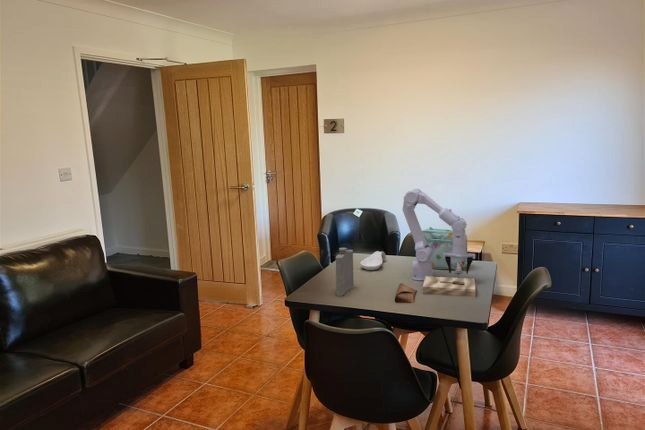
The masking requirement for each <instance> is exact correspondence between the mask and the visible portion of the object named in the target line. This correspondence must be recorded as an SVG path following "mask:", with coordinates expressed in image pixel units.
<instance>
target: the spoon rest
mask: <svg viewBox="0 0 645 430" xmlns="http://www.w3.org/2000/svg"><path fill="white" fill-rule="evenodd" d="M387 261H388V259H387V256H386V253H385V252H384V251H379V250H376V251H374V252H373V253H371V254H370V255H368V256H367V257H366V258H364V259H363V260H361V261H360V263H359V264H360V266H361V268H363V269H365V270H367V271H376V270H379V269H380V268H381V267H382V264H383V262H387Z"/></svg>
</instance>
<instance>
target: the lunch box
mask: <svg viewBox="0 0 645 430" xmlns="http://www.w3.org/2000/svg"><path fill="white" fill-rule="evenodd" d="M421 230H422V232H423V235H424V238H425V240H426V241H427V242H428V244H429V246H430V247H431V248H432V249H433V255H432V256H431V259H432V270H433V269H435V270H449V268H448V265H447V262H446V260H445V258H443V253H451V252H453V230H452V229H448V228H447V229H444V228H443V229H442V228H433V227H432V226H430V227H429V228H426V229H421ZM465 235H466V239H465V253H468V236H467V234H466V233H465ZM414 251H416V250H415V248H414ZM457 262H459V263H462V269H463V268H464V267H465V266H467V258H452V257H451V271H453V270H455V263H457Z"/></svg>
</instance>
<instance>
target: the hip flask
mask: <svg viewBox="0 0 645 430" xmlns="http://www.w3.org/2000/svg"><path fill="white" fill-rule="evenodd" d="M338 252H339V253H338V254H337V255H336V256H335V281H336V283H335V285H336V288H335V289H336V297H344V296H345V294H346V293H347V292H349V290H351V289H354V286H355V285H354V282H355V281H354V250H353V249H348V248H347V247H339V248H338ZM343 295H344V296H343Z"/></svg>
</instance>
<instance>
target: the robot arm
mask: <svg viewBox="0 0 645 430" xmlns="http://www.w3.org/2000/svg"><path fill="white" fill-rule="evenodd" d="M418 204H420V205H425V206H427V207H428V208H430V209H431V210H432V211H434V212H435V213H437V214H438V217H439V219H440V220H441V221H443V222H444V223H446V224H447V225H448V226H450V227H451V230H453V252H451V253H443V258H445V260H446V262H447V265H448V268H449V269H448V271H449V274H451V273H452V270H451V257H452V258H467V263H466V273H465V274H467V275H468V274H469V269H470V266H471V265H472V263H473V260H475V259H476V254H475V253H472V252H471V253H470V252H467V253H465V239H466V236H467V234H466V228H467V225H468V224H467V221H466V220H465V219H464V218H463V217H460V215H457V214H456V213H454V212H453V210H452V209H451V208H448V207H446V208H443V207H442V206H441V205H440V204H439V203H437V202H436V200H434V199H432V198H431V197H430V196H428V194H427V193H426V192H424V191H422V190H421V189H419V188H414V189H411V190H407V192H406V193H405V194H404V196H403V204H402V212H403V216H404V217H405V220H406V223H407V226H408V228H409V231H410V233H411V237H412V239H413V242H414V244H415V245H414V249H415V250H414V251H415V257H416V260H412V272H411V275H412V279H411V280H414V281H424V280H425V277H426V276H430V277H434V275H433V269H432V259H431V256H432V255H433V249H432V248H431V247H430V246H429V244H428V242H427V241H426V240H425V238H424V235H423V232H422V230H423V229H422V228H421V225H420V221H419V220H418V217H417V214H416V212H415V209H416V208H417V207H416V206H417V205H418ZM465 234H466V235H465Z"/></svg>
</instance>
